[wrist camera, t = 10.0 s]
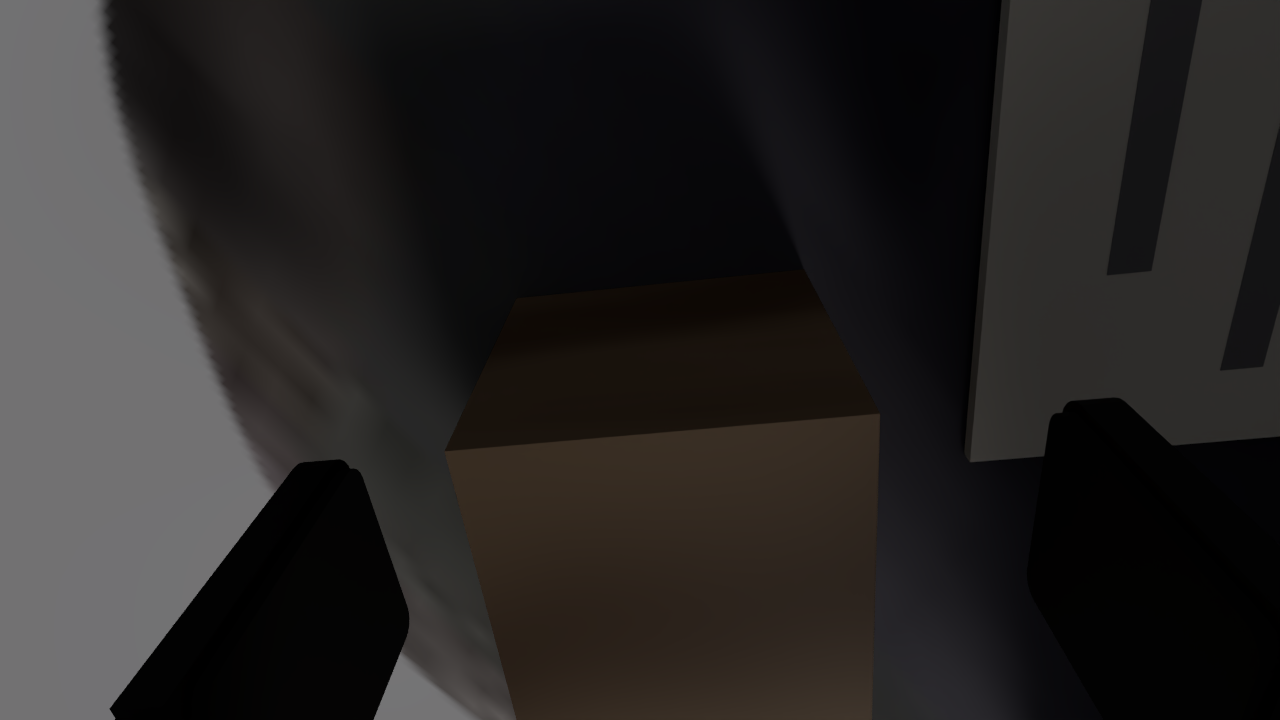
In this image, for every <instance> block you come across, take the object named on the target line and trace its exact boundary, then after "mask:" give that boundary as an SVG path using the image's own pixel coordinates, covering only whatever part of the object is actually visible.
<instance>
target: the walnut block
mask: <svg viewBox="0 0 1280 720" xmlns="http://www.w3.org/2000/svg"><path fill="white" fill-rule="evenodd" d="M879 435H880V413H879V411H878V409H877V407H876V405H875V403H874V401H873V399H872V397H871V396H870V394H869V392H868V390H867V388H866V386H865V384H864V382H863V380H862V379H861V377H860V375H859V373H858V371H857V369H856V367H855V365H854V363H853V361H852V360H851V358H850V356H849V354H848V352H847V350H846V348H845V346H844V344H843V342H842V341H841V339H840V337H839V335H838V333H837V331H836V329H835V327H834V325H833V323H832V322H831V320H830V318H829V316H828V314H827V312H826V310H825V308H824V306H823V304H822V303H821V301H820V299H819V297H818V295H817V293H816V291H815V289H814V287H813V285H812V284H811V282H810V280H809V278H808V276H807V274H806V272H805V270H804V269H802V270H792V271H782V272H772V273H762V274H752V275H742V276H732V277H722V278H712V279H702V280H693V281H683V282H673V283H663V284H653V285H643V286H633V287H623V288H613V289H603V290H593V291H584V292H574V293H564V294H554V295H544V296H534V297H524V298H516V300H515V303H514V305H513V307H512V309H511V311H510V313H509V315H508V317H507V320H506V322H505V324H504V326H503V328H502V330H501V332H500V334H499V337H498V339H497V341H496V343H495V345H494V347H493V349H492V351H491V354H490V356H489V358H488V360H487V362H486V364H485V366H484V368H483V371H482V373H481V375H480V377H479V379H478V381H477V383H476V385H475V388H474V390H473V392H472V394H471V396H470V398H469V400H468V402H467V405H466V407H465V409H464V411H463V413H462V415H461V417H460V420H459V422H458V424H457V426H456V428H455V430H454V432H453V434H452V437H451V439H450V441H449V443H448V445H447V447H446V449H445V455H446V459H447V463H448V466H449V470H450V474H451V477H452V481H453V485H454V489H455V492H456V496H457V500H458V503H459V507H460V511H461V515H462V518H463V522H464V526H465V529H466V533H467V537H468V541H469V544H470V548H471V552H472V555H473V559H474V563H475V567H476V570H477V574H478V578H479V581H480V585H481V589H482V593H483V596H484V600H485V604H486V607H487V611H488V615H489V619H490V622H491V626H492V630H493V633H494V637H495V641H496V645H497V648H498V652H499V656H500V659H501V663H502V667H503V671H504V674H505V678H506V682H507V685H508V689H509V693H510V697H511V700H512V704H513V708H514V711H515V715H516V719H517V720H872V691H873V654H874V618H875V581H876V544H877V508H878V471H879Z"/></svg>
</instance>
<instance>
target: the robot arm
mask: <svg viewBox="0 0 1280 720" xmlns="http://www.w3.org/2000/svg"><path fill="white" fill-rule="evenodd" d="M1027 579H1028V585H1029V589H1030V592H1031V595H1032V597H1033V599H1034V601H1035V603H1036V605H1037V606H1038V608H1039V610H1040V611H1041V613H1042V615H1043V617H1044V618H1045V620H1046V622H1047V623H1048V625H1049V627H1050V629H1051V630H1052V632H1053V634H1054V635H1055V637H1056V639H1057V641H1058V642H1059V644H1060V646H1061V648H1062V649H1063V651H1064V653H1065V654H1066V656H1067V658H1068V660H1069V661H1070V663H1071V665H1072V666H1073V668H1074V670H1075V672H1076V673H1077V675H1078V677H1079V678H1080V680H1081V682H1082V684H1083V685H1084V687H1085V689H1086V690H1087V692H1088V694H1089V696H1090V697H1091V699H1092V701H1093V702H1094V704H1095V706H1096V708H1097V709H1098V711H1099V713H1100V714H1101V716H1102V718H1103V720H1280V546H1279V545H1278V544H1277V543H1276V542H1275V541H1274V540H1273V539H1272V538H1271V537H1270V536H1268V535H1267V534H1266V533H1265V532H1264V531H1263V530H1262V529H1261V528H1260V527H1259V526H1258V525H1257V524H1256V523H1255V522H1254V521H1252V520H1251V519H1250V518H1249V517H1248V516H1247V515H1246V514H1245V513H1244V512H1243V511H1242V510H1241V509H1240V508H1239V507H1237V506H1236V505H1235V504H1234V503H1233V502H1232V501H1231V500H1230V499H1229V498H1228V497H1227V496H1226V495H1225V494H1224V493H1222V492H1221V491H1220V490H1219V489H1218V488H1217V487H1216V486H1215V485H1214V484H1213V483H1212V482H1211V481H1210V480H1209V479H1208V478H1206V477H1205V476H1204V475H1203V474H1202V473H1201V472H1200V471H1199V470H1198V469H1197V468H1196V467H1195V466H1194V465H1193V464H1191V463H1190V462H1189V461H1188V460H1187V459H1186V458H1185V457H1184V456H1183V455H1182V454H1181V453H1180V452H1179V451H1178V450H1177V449H1175V448H1174V447H1173V446H1172V445H1171V444H1170V443H1169V442H1168V441H1167V440H1166V439H1165V438H1164V437H1163V436H1162V435H1160V434H1159V433H1158V432H1157V431H1156V430H1155V429H1154V428H1153V427H1152V426H1151V425H1150V424H1149V423H1148V422H1147V421H1146V420H1144V419H1143V418H1142V417H1141V416H1140V415H1139V414H1138V413H1137V412H1136V411H1135V410H1134V409H1133V408H1132V407H1131V406H1129V405H1128V404H1127V403H1126V402H1125V401H1124V400H1122V399H1120V398H1115V397H1112V398H1100V399H1087V400H1075V401H1070V402H1068V403H1066V405H1065V407H1064V408H1063V411H1062V413H1055V414H1054V415H1052V417H1051V419H1050V422H1049V427H1048V433H1047V440H1046V447H1045V454H1044V460H1043V467H1042V474H1041V480H1040V487H1039V494H1038V500H1037V507H1036V514H1035V521H1034V527H1033V534H1032V541H1031V547H1030V554H1029V561H1028V567H1027ZM408 629H409V611H408V607H407V604H406V601H405V598H404V596H403V593H402V590H401V587H400V584H399V581H398V578H397V575H396V572H395V570H394V567H393V564H392V561H391V558H390V555H389V552H388V549H387V546H386V544H385V541H384V538H383V535H382V532H381V529H380V526H379V523H378V520H377V518H376V515H375V512H374V509H373V506H372V503H371V500H370V497H369V494H368V491H367V489H366V486H365V483H364V480H363V477H362V475H361V473H360V472H359V471H358V470H357V469H350V468H349V466H348V465H347V464H346V462H345V461H343V460H340V459H339V460H327V461H314V462H303V463H299V464H298V465H297V466H296V467H294V469H293V470H292V471H291V472H290V474H289V475H288V476H287V478H286V479H285V480H284V482H283V483H282V484H281V486H280V487H279V488H278V489H277V491H276V492H275V493H274V495H273V496H272V497H271V499H270V500H269V501H268V503H267V504H266V505H265V507H264V508H263V509H262V510H261V512H260V513H259V514H258V516H257V517H256V518H255V520H254V521H253V522H252V523H251V525H250V526H249V527H248V529H247V530H246V531H245V533H244V534H243V535H242V536H241V538H240V539H239V541H238V542H237V543H236V544H235V546H234V547H233V548H232V550H231V551H230V552H229V554H228V555H227V556H226V558H225V559H224V560H223V561H222V563H221V564H220V565H219V567H218V568H217V569H216V571H215V572H214V573H213V575H212V576H211V577H210V578H209V580H208V581H207V582H206V584H205V585H204V586H203V587H202V589H201V590H200V591H199V593H198V594H197V596H196V597H195V598H194V599H193V601H192V602H191V603H190V605H189V606H188V607H187V608H186V610H185V611H184V612H183V614H182V615H181V616H180V617H179V619H178V620H177V621H176V623H175V624H174V625H173V627H172V628H171V629H170V631H169V632H168V633H167V634H166V636H165V637H164V639H163V640H162V641H161V642H160V644H159V645H158V646H157V648H156V649H155V650H154V652H153V653H152V654H151V655H150V657H149V658H148V659H147V661H146V662H145V663H144V665H143V666H142V667H141V668H140V670H139V671H138V673H137V674H136V675H135V676H134V678H133V679H132V680H131V682H130V683H129V684H128V685H127V687H126V688H125V689H124V691H123V692H122V694H121V695H120V696H119V697H118V699H117V700H116V701H115V702H114V704H113V705H112V707H111V708H110V710H111V712H112V713H113V715H114V717H115V718H116V719H115V720H374V717H375V715H376V712H377V710H378V707H379V705H380V702H381V700H382V697H383V695H384V692H385V690H386V687H387V685H388V682H389V680H390V677H391V675H392V672H393V670H394V667H395V665H396V662H397V660H398V657H399V655H400V652H401V650H402V647H403V645H404V642H405V639H406V637H407V634H408Z"/></svg>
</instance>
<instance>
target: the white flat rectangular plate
mask: <svg viewBox="0 0 1280 720" xmlns="http://www.w3.org/2000/svg"><path fill="white" fill-rule="evenodd" d="M1112 397H1115V398H1120V399H1122V400H1124V401H1125V402H1126V403H1127V404H1128V405H1129V406H1131V407H1132V408H1133V409H1134V410H1135V411H1136V412H1137V413H1138V414H1139V415H1140V416H1141V417H1142V418H1143V419H1144V420H1146V421H1147V422H1148V423H1149V424H1150V425H1151V426H1152V427H1153V428H1154V429H1155V430H1156V431H1157V432H1158V433H1159V434H1160V435H1162V436H1163V437H1164V438H1165V439H1166V440H1167V441H1168V442H1169V443H1170V444H1171V445H1183V444H1195V443H1207V442H1219V441H1231V440H1243V439H1255V438H1267V437H1279V436H1280V0H1002V3H1001V15H1000V27H999V39H998V51H997V63H996V75H995V87H994V100H993V112H992V124H991V136H990V148H989V160H988V172H987V184H986V196H985V208H984V220H983V232H982V244H981V256H980V268H979V280H978V293H977V305H976V317H975V329H974V341H973V353H972V365H971V377H970V389H969V401H968V413H967V425H966V437H965V449H964V454H965V456H966V457H967V459H968V460H969V462H980V461H992V460H1004V459H1016V458H1028V457H1040V456H1044V454H1045V447H1046V440H1047V433H1048V427H1049V422H1050V419H1051V417H1052V415H1054V414H1055V413H1062V411H1063V408H1064V407H1065V405H1066V403H1068V402H1070V401H1075V400H1087V399H1100V398H1112Z"/></svg>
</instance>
